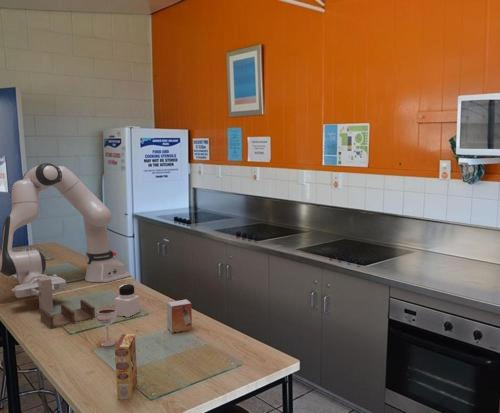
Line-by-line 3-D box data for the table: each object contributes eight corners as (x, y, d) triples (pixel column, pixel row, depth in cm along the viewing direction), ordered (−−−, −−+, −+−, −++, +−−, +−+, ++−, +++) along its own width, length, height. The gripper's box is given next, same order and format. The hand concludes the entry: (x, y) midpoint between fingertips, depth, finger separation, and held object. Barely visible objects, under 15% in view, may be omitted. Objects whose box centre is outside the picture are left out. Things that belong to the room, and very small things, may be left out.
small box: (171, 333, 175) (171, 306, 174) (167, 328, 180) (166, 301, 179) (192, 330, 179) (191, 303, 178) (187, 325, 184) (186, 298, 183)
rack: (83, 309, 201) (82, 299, 200) (95, 318, 191) (94, 307, 190) (40, 319, 190) (40, 308, 189) (50, 328, 180) (50, 317, 179)
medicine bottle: (139, 312, 198) (139, 284, 196) (128, 317, 192) (127, 288, 190) (126, 309, 201) (125, 282, 199) (114, 315, 195) (113, 286, 193)
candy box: (132, 399, 131) (130, 346, 128) (116, 400, 130) (114, 346, 128) (137, 383, 139) (136, 333, 137) (123, 384, 139) (121, 333, 137)
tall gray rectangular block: (49, 308, 202) (47, 276, 200) (53, 311, 198) (51, 279, 196) (39, 310, 200) (37, 278, 198) (43, 313, 196) (41, 280, 194)
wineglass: (107, 348, 163) (105, 315, 161) (93, 344, 166) (92, 311, 165) (122, 341, 168) (120, 309, 167) (108, 337, 172) (107, 305, 170)
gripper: (9, 281, 201) (18, 289, 190) (59, 273, 214) (70, 280, 203) (10, 296, 202) (19, 304, 191) (60, 287, 215) (70, 294, 204)
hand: (45, 292), depth 197 cm, fingers closed on tall gray rectangular block, 4 cm apart
